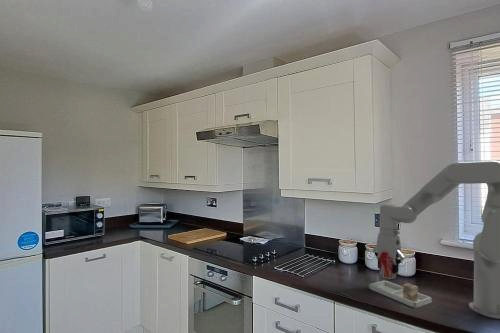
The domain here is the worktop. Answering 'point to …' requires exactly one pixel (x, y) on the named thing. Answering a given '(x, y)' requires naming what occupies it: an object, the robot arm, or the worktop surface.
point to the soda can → (386, 266)
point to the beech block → (410, 292)
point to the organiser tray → (398, 293)
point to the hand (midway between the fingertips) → (387, 270)
